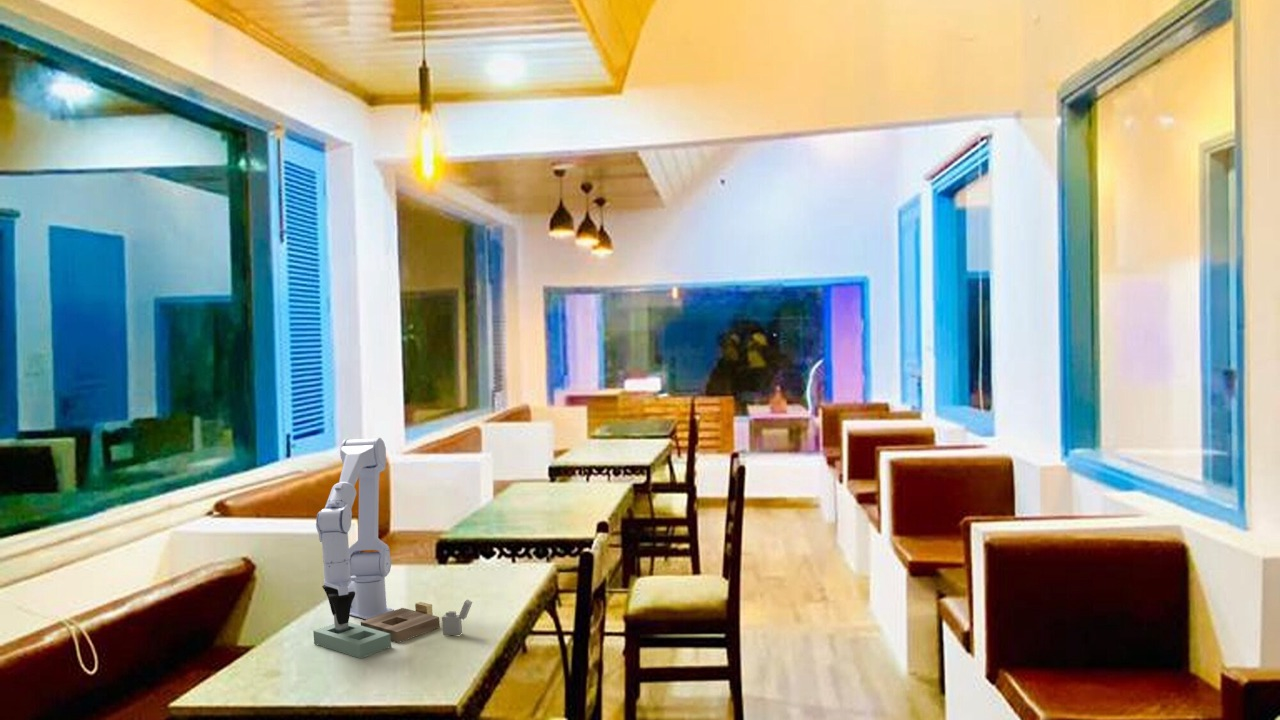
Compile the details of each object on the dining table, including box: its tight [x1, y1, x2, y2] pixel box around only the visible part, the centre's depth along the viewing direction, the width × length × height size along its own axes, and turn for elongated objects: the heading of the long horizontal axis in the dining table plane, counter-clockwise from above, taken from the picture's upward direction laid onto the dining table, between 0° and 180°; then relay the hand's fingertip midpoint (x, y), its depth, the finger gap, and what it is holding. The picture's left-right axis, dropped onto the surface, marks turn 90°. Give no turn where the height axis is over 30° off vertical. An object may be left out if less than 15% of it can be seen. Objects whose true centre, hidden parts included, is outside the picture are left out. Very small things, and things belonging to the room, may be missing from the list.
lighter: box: [441, 599, 473, 636], centre depth 212 cm, size 7×2×8 cm, turn 78°
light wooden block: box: [414, 601, 434, 615], centre depth 221 cm, size 4×6×4 cm
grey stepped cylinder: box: [333, 614, 349, 634], centre depth 211 cm, size 3×3×9 cm
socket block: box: [360, 607, 441, 643], centre depth 217 cm, size 14×12×2 cm
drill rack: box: [312, 621, 392, 659], centre depth 208 cm, size 18×8×3 cm, turn 51°
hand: (340, 618), depth 211 cm, fingers open, 7 cm apart
